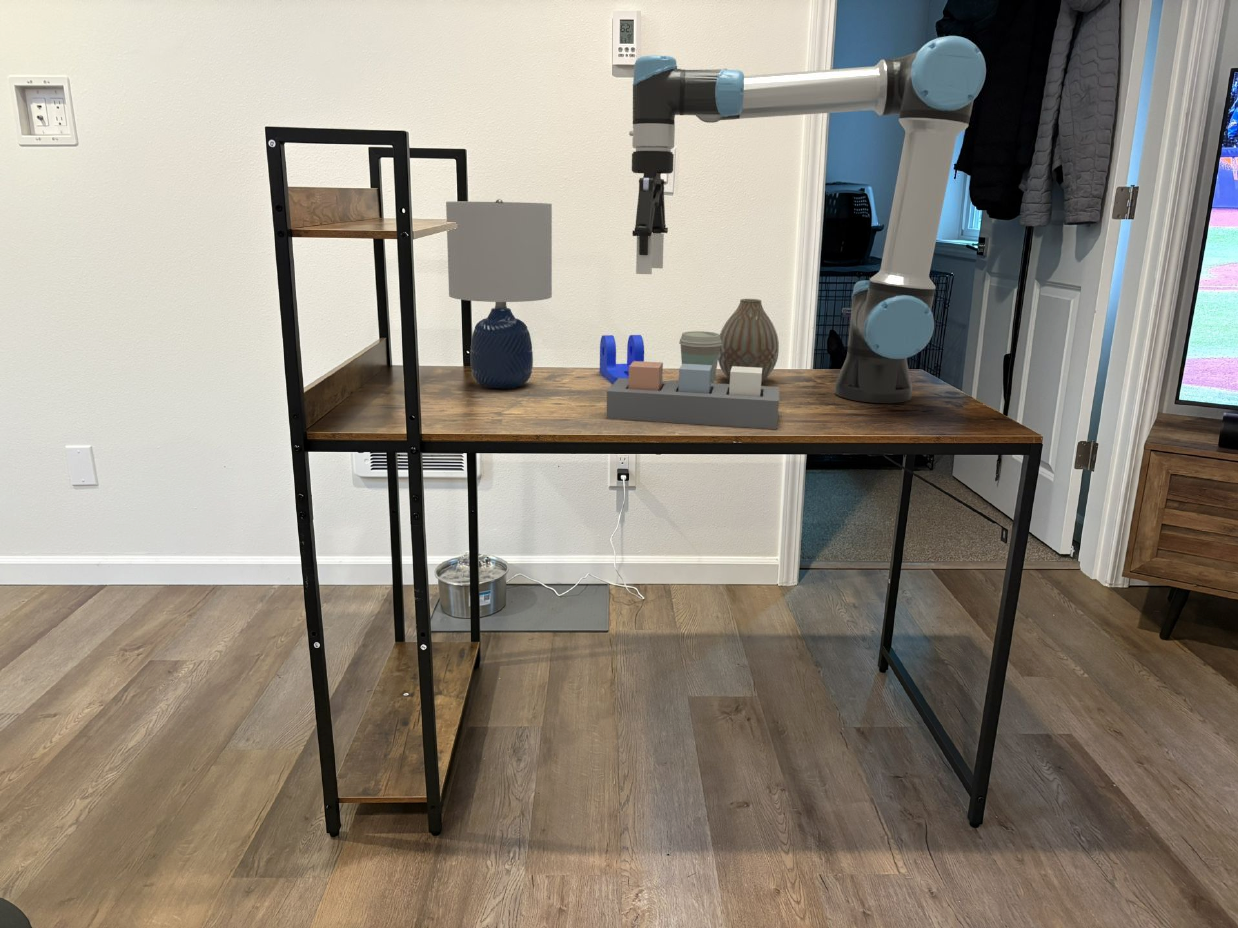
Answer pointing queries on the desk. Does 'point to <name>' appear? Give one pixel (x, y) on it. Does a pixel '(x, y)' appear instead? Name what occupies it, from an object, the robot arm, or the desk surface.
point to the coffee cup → (701, 349)
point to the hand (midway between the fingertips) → (649, 271)
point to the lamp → (500, 280)
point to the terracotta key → (645, 375)
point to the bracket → (609, 357)
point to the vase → (749, 339)
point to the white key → (745, 381)
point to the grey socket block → (693, 405)
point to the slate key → (695, 378)
